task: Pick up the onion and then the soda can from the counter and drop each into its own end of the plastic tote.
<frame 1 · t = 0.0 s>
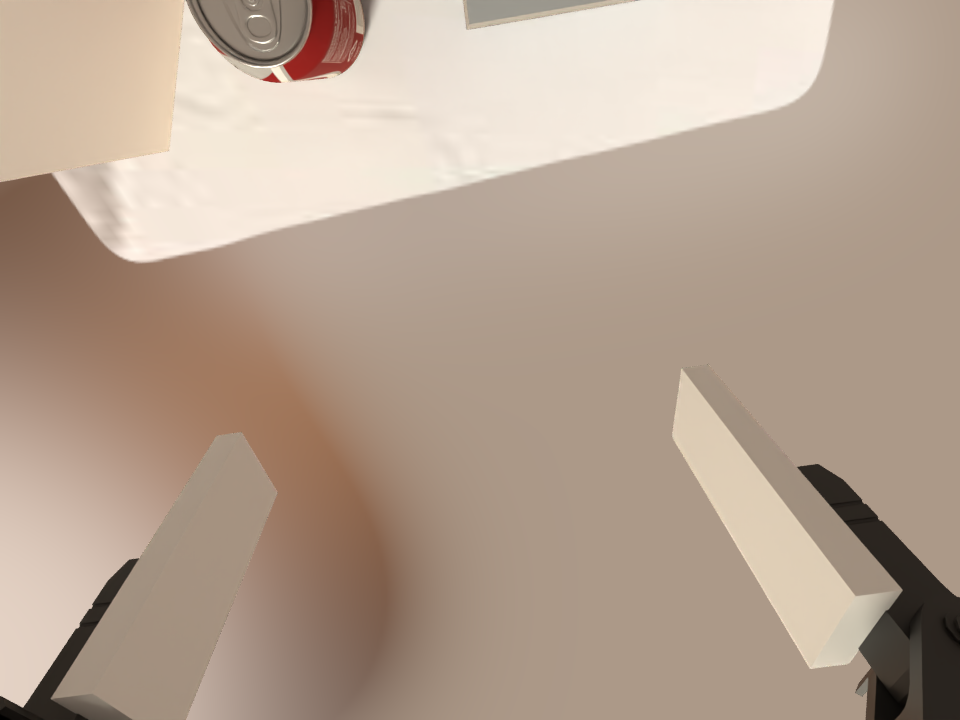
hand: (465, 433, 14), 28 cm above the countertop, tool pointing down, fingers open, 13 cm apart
soda can: (316, 18, 30), on the countertop
milk: (84, 20, 29), on the countertop
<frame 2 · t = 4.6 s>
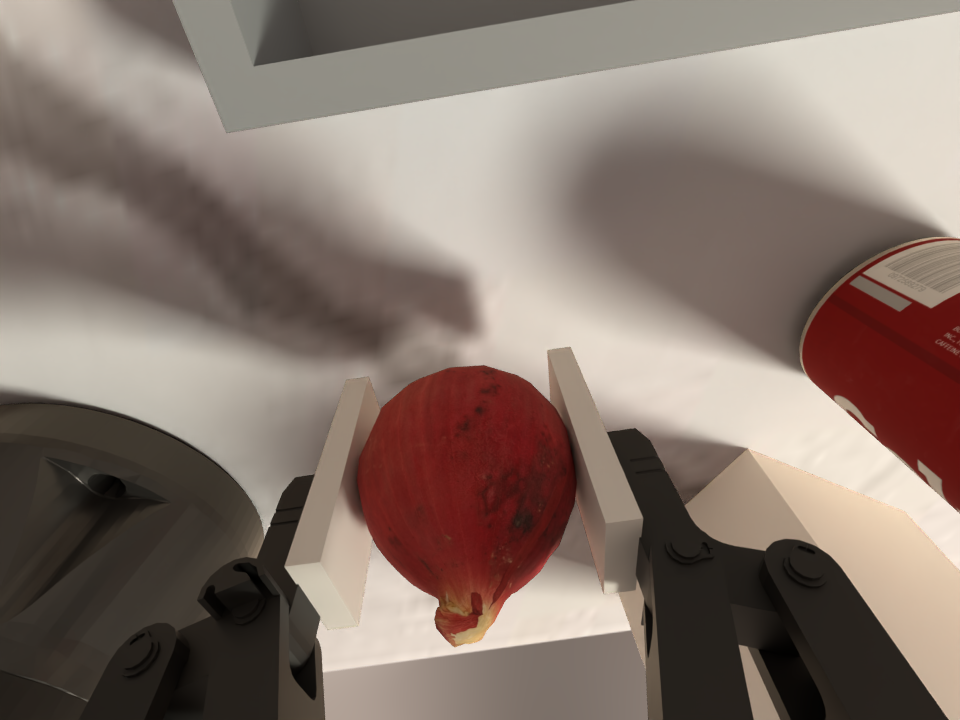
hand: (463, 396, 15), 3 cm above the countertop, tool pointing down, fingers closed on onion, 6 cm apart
onion: (464, 386, 16), point 3 cm above the countertop, touching gripper
soda can: (872, 311, 18), on the countertop
milk: (749, 540, 26), on the countertop
when the fingers open (4 cm above the countertop, at t = 8.8 s): onion drops 3 cm, resting on tote.
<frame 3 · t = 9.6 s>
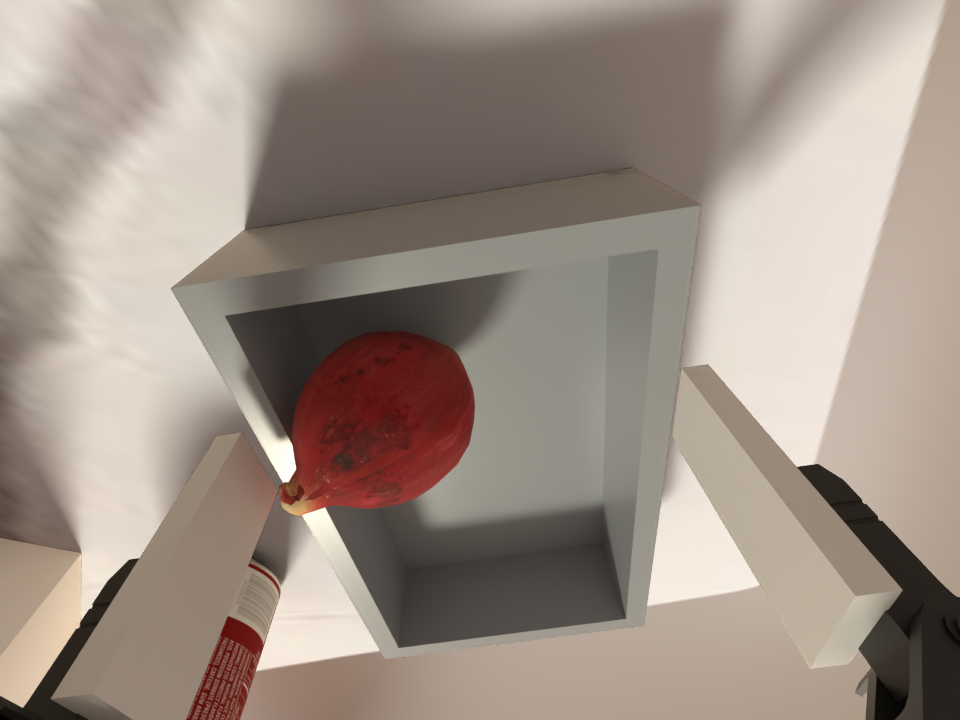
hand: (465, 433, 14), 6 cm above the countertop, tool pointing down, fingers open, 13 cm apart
onion: (456, 350, 18), point 1 cm above the countertop, touching tote
soda can: (228, 570, 27), on the countertop
tote: (479, 427, 22), on the countertop
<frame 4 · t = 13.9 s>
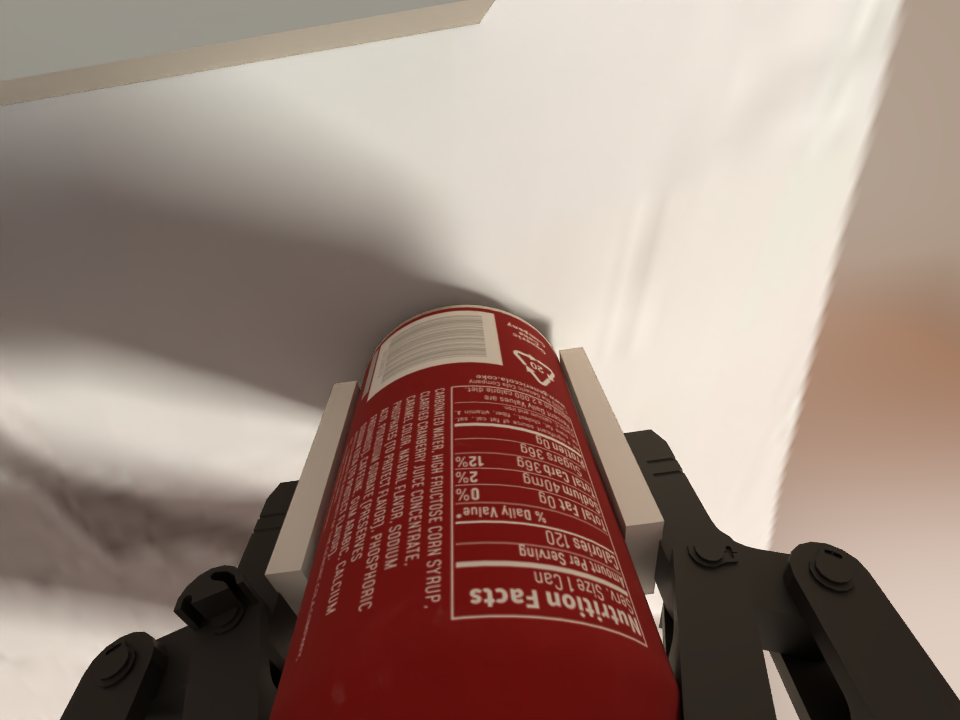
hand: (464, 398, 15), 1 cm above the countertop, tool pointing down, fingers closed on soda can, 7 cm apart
soda can: (464, 377, 16), on the countertop, touching gripper
when the fingers open (5 cm above the countertop, at t = 19.4 s): soda can drops 3 cm, resting on tote.
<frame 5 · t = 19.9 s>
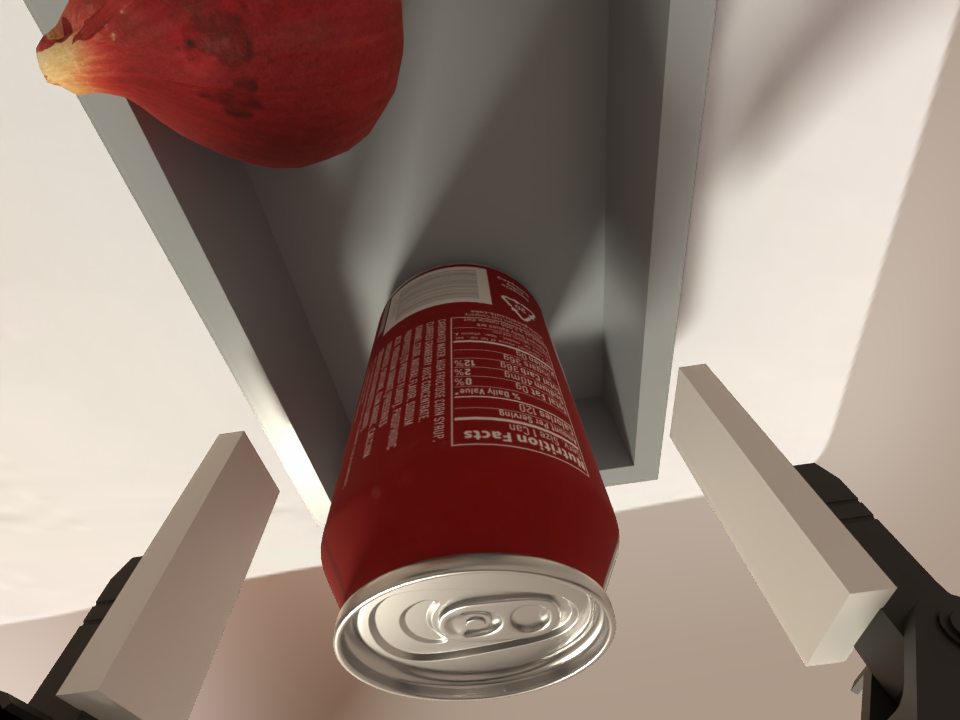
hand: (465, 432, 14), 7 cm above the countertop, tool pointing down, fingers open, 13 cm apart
onion: (388, 0, 12), point 1 cm above the countertop, touching tote
soda can: (462, 329, 19), resting on tote
tote: (436, 195, 16), on the countertop
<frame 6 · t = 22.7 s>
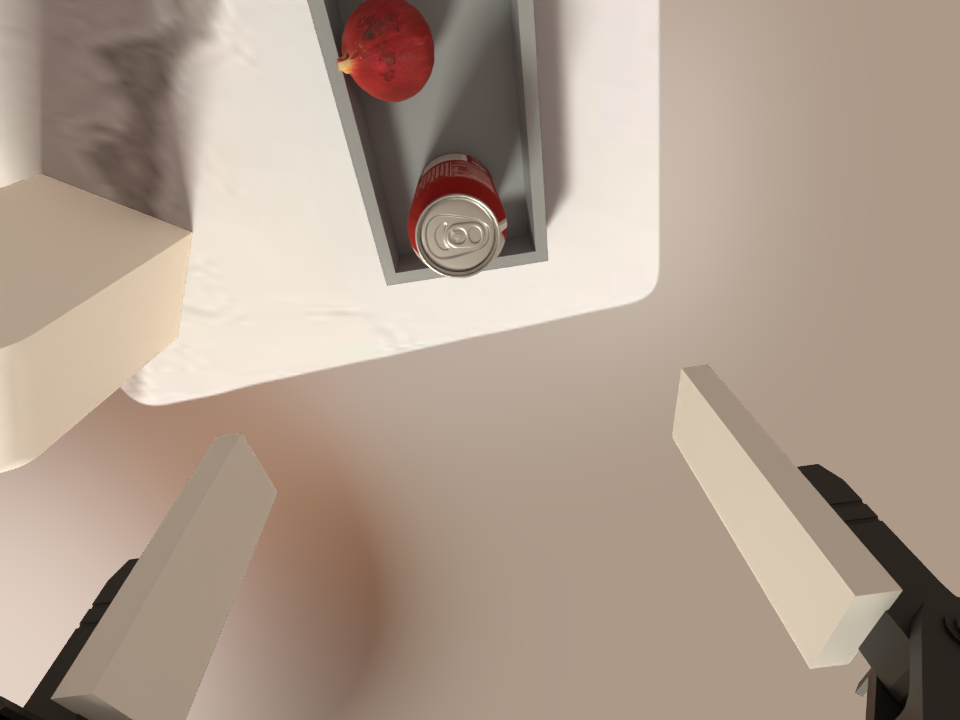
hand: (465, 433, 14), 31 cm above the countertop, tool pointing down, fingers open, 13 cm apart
onion: (427, 41, 32), point 1 cm above the countertop, touching tote
soda can: (456, 193, 39), resting on tote
tote: (444, 123, 36), on the countertop
milk: (118, 263, 41), on the countertop
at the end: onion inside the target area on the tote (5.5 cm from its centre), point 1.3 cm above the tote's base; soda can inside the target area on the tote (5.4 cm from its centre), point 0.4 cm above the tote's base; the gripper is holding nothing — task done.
